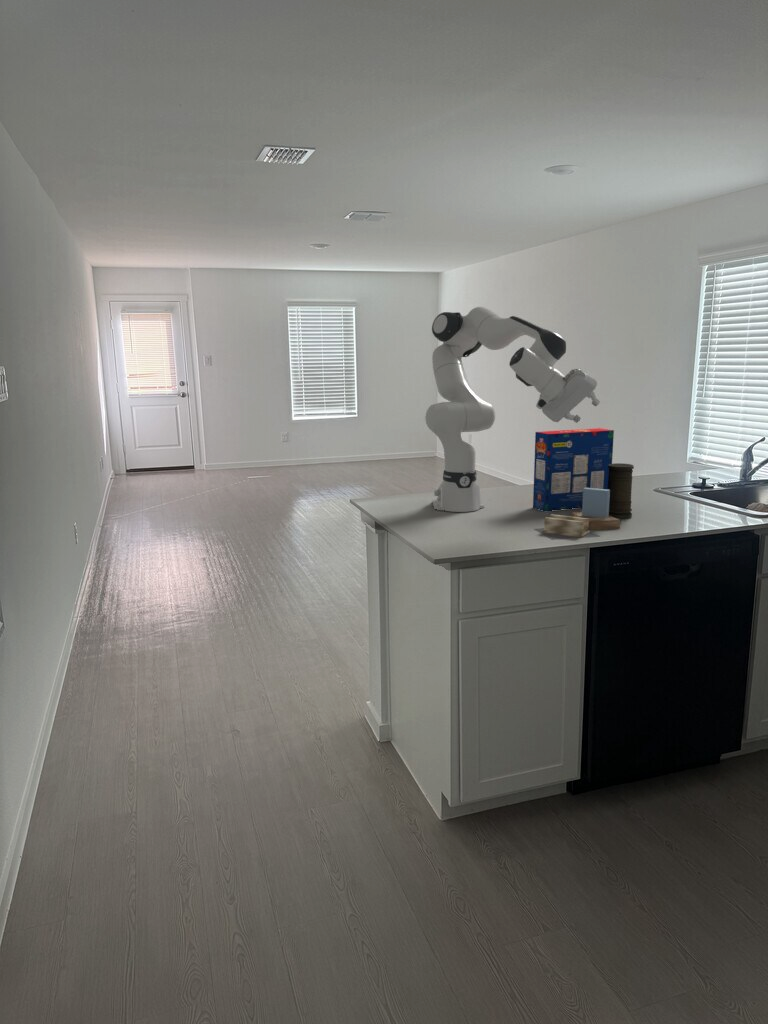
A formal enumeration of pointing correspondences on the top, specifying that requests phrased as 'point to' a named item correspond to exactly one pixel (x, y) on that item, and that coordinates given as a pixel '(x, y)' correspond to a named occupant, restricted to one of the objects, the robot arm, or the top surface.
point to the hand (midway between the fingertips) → (588, 412)
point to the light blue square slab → (596, 502)
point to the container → (620, 490)
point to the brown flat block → (599, 522)
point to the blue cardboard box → (570, 466)
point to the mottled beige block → (566, 525)
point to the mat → (558, 536)
